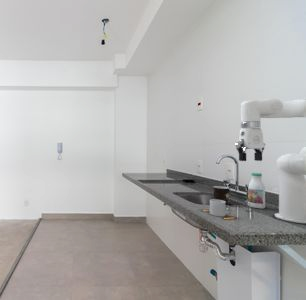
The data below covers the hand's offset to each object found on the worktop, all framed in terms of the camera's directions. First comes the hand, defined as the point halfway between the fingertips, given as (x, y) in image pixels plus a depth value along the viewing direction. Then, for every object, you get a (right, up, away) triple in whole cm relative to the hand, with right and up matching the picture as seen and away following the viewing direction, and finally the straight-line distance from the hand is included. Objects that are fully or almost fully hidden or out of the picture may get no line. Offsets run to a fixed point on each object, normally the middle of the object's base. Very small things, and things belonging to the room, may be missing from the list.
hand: (250, 160), depth 102 cm
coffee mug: (+3, -28, +28) cm, 40 cm away
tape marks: (-13, -28, +5) cm, 31 cm away
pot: (-13, -28, +5) cm, 31 cm away
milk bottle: (+20, -29, +20) cm, 40 cm away
